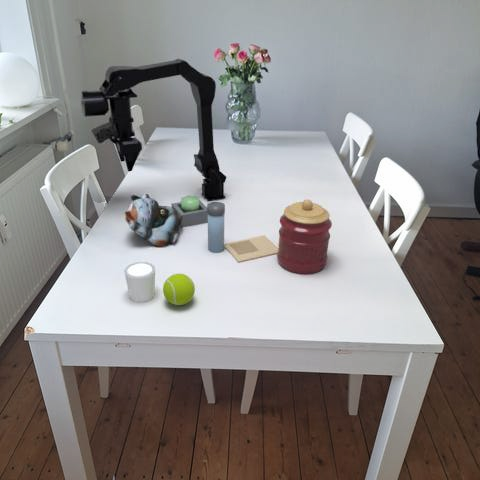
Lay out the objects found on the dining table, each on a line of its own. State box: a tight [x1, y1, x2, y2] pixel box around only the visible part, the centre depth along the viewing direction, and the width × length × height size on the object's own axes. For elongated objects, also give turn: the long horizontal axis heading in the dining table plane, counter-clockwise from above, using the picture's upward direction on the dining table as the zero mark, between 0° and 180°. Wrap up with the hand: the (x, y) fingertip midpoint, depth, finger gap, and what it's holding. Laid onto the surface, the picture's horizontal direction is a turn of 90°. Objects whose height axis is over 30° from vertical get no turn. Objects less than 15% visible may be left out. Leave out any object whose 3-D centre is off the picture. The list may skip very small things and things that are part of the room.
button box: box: [170, 199, 208, 228], centre depth 141 cm, size 9×9×4 cm
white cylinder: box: [123, 261, 156, 303], centre depth 105 cm, size 7×7×7 cm
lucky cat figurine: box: [124, 192, 182, 248], centre depth 129 cm, size 15×12×14 cm
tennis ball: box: [162, 273, 196, 306], centre depth 103 cm, size 7×7×7 cm
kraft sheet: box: [224, 234, 279, 264], centre depth 127 cm, size 13×10×1 cm
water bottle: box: [206, 201, 226, 254], centre depth 123 cm, size 5×5×13 cm
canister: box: [276, 198, 333, 275], centre depth 117 cm, size 13×13×18 cm
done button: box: [180, 195, 200, 213], centre depth 140 cm, size 5×5×4 cm
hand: (126, 166), depth 139 cm, fingers open, 9 cm apart
